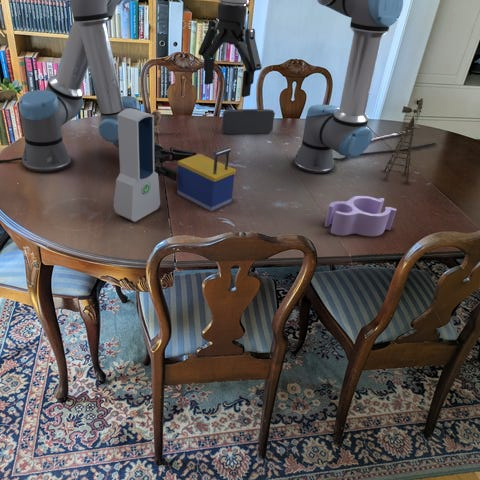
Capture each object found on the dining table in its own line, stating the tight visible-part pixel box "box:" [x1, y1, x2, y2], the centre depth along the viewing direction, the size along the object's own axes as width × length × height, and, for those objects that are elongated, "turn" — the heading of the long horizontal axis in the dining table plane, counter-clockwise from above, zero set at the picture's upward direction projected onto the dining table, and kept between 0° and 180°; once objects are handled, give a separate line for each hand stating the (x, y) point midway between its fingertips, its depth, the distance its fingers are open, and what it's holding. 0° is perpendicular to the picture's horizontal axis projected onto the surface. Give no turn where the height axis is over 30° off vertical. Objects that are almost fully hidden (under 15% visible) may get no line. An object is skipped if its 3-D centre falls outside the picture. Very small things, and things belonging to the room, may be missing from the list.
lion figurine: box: [150, 110, 162, 127], centre depth 189 cm, size 15×5×9 cm, turn 110°
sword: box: [370, 131, 410, 143], centre depth 215 cm, size 31×3×1 cm, turn 126°
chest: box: [176, 164, 235, 212], centre depth 147 cm, size 15×10×10 cm, turn 50°
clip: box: [324, 195, 398, 237], centre depth 141 cm, size 20×12×7 cm, turn 109°
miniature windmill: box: [383, 97, 424, 184], centre depth 169 cm, size 9×8×30 cm
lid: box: [177, 146, 237, 182], centre depth 142 cm, size 16×10×8 cm, turn 50°
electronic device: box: [112, 108, 161, 223], centre depth 130 cm, size 12×8×30 cm, turn 148°
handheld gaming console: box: [221, 108, 276, 135], centre depth 201 cm, size 23×3×10 cm, turn 108°
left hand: (191, 170), depth 151 cm, fingers open, 13 cm apart
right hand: (226, 89), depth 127 cm, fingers open, 13 cm apart
